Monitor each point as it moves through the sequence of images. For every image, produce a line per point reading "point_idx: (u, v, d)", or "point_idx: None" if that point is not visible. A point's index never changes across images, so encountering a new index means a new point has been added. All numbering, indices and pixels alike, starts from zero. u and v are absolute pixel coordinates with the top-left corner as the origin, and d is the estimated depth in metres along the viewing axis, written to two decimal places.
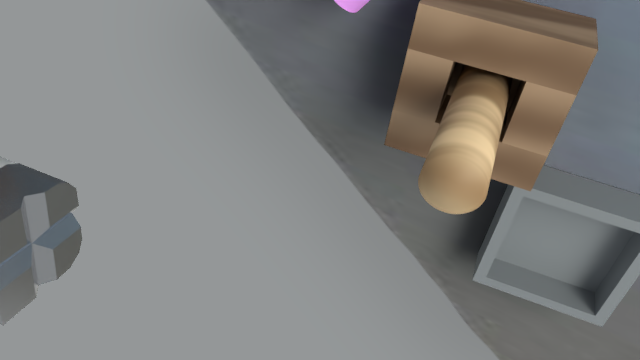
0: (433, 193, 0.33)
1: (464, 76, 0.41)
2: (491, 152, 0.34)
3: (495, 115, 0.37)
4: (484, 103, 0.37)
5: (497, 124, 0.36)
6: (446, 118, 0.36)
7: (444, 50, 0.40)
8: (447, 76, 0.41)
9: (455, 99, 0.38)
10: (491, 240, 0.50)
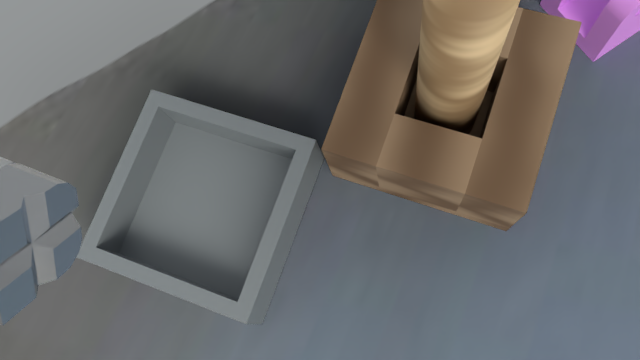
0: None
1: None
2: (484, 48, 0.24)
3: (480, 83, 0.28)
4: None
5: (475, 81, 0.28)
6: None
7: (521, 48, 0.33)
8: None
9: None
10: (222, 112, 0.37)
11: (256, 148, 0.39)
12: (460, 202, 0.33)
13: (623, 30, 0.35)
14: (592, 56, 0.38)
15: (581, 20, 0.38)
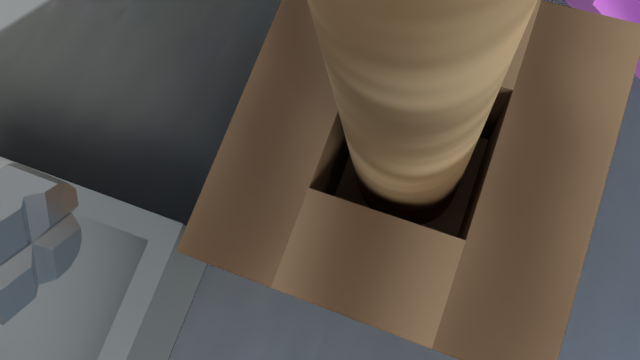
0: None
1: None
2: (458, 90, 0.10)
3: (457, 151, 0.14)
4: (483, 126, 0.14)
5: (446, 149, 0.13)
6: None
7: (538, 72, 0.18)
8: None
9: None
10: None
11: (106, 224, 0.24)
12: None
13: None
14: None
15: None
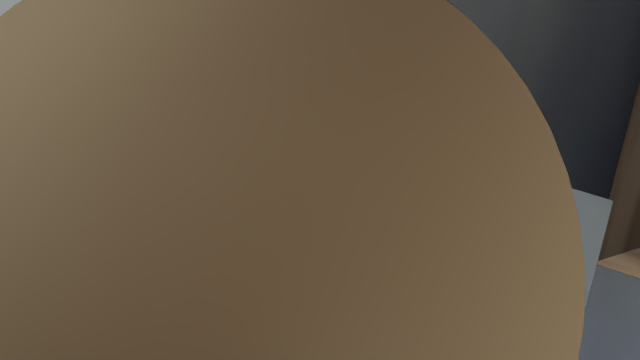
0: (114, 53, 0.03)
1: None
2: None
3: None
4: None
5: None
6: None
7: None
8: None
9: None
10: None
11: None
12: None
13: None
14: None
15: None
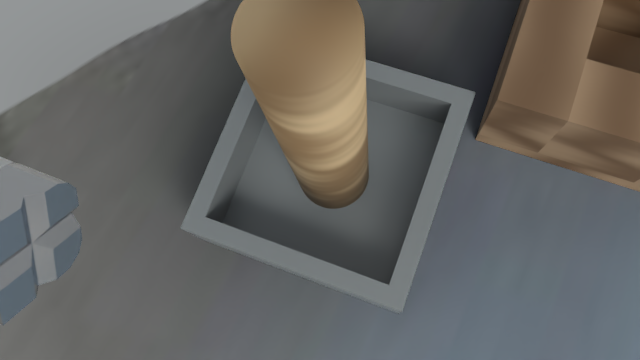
0: None
1: None
2: (325, 124, 0.19)
3: (343, 155, 0.23)
4: (361, 141, 0.23)
5: (333, 154, 0.22)
6: None
7: None
8: None
9: None
10: None
11: (385, 105, 0.33)
12: None
13: None
14: None
15: None
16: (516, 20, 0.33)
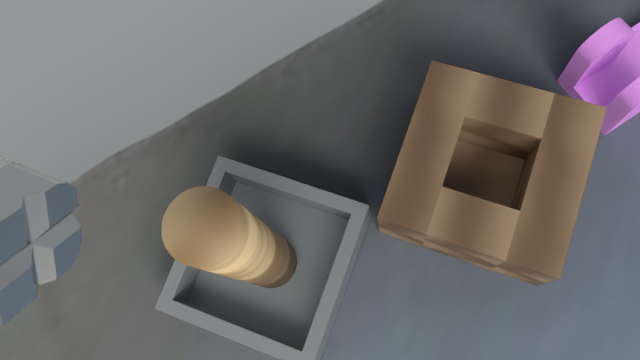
0: (191, 203, 0.28)
1: (283, 240, 0.39)
2: (228, 270, 0.29)
3: (254, 274, 0.33)
4: (268, 262, 0.34)
5: (246, 275, 0.33)
6: (260, 221, 0.33)
7: (553, 129, 0.37)
8: (523, 131, 0.37)
9: (271, 231, 0.35)
10: (283, 178, 0.41)
11: (310, 207, 0.43)
12: (499, 264, 0.38)
13: (632, 112, 0.40)
14: (604, 131, 0.42)
15: (594, 99, 0.42)
16: None
